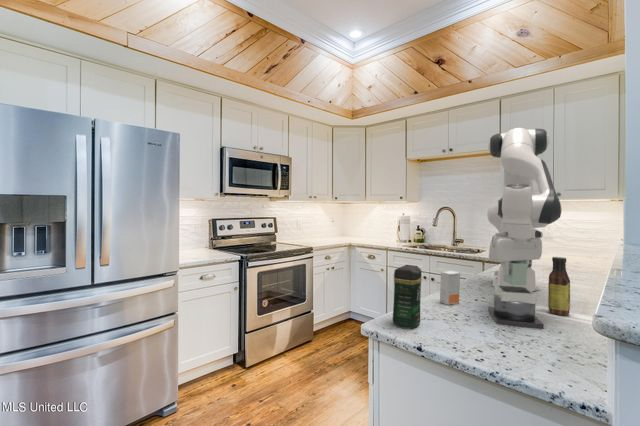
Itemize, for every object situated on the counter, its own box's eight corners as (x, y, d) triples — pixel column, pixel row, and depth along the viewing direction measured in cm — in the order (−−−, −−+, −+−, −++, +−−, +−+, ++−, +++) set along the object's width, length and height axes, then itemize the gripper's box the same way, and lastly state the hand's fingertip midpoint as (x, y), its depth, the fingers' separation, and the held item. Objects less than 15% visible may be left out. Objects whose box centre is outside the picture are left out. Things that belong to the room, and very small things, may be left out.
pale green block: (503, 281, 111) (504, 256, 111) (516, 281, 111) (517, 256, 111) (512, 285, 106) (513, 259, 105) (526, 285, 106) (527, 259, 105)
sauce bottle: (573, 317, 112) (575, 259, 111) (553, 315, 113) (555, 258, 112) (563, 310, 118) (565, 256, 117) (544, 309, 119) (545, 255, 119)
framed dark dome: (487, 310, 117) (488, 282, 117) (529, 314, 114) (529, 286, 113) (496, 324, 104) (497, 293, 104) (543, 329, 100) (544, 296, 100)
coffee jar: (415, 331, 97) (416, 269, 97) (389, 325, 101) (390, 266, 101) (423, 321, 106) (424, 264, 105) (399, 316, 110) (400, 262, 109)
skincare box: (447, 305, 123) (448, 274, 122) (439, 302, 127) (440, 271, 126) (459, 303, 125) (460, 272, 125) (451, 300, 129) (451, 270, 129)
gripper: (501, 233, 101) (499, 277, 102) (546, 232, 109) (545, 273, 109) (484, 232, 107) (483, 273, 108) (528, 231, 114) (527, 270, 115)
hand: (514, 273), depth 108 cm, fingers closed on pale green block, 6 cm apart
